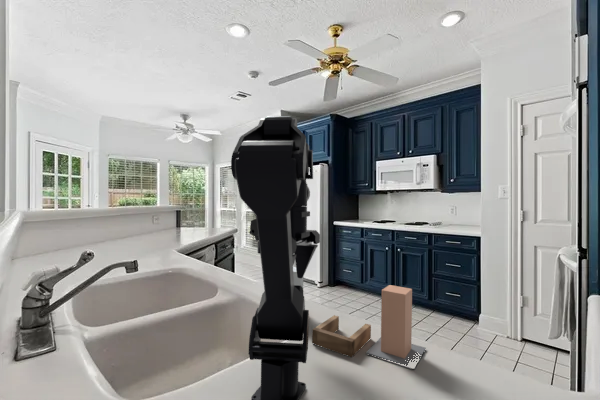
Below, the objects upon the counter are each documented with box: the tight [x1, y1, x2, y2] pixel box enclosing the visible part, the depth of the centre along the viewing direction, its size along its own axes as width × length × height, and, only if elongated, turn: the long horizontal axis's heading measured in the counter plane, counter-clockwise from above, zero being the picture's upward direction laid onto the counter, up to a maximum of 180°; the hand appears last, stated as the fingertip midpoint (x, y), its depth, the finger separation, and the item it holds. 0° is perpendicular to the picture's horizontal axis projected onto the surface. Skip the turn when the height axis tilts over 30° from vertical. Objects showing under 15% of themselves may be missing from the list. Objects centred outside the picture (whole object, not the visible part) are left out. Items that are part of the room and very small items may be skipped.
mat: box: [365, 336, 427, 366], centre depth 59 cm, size 9×9×1 cm
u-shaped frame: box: [311, 314, 372, 358], centre depth 63 cm, size 10×9×3 cm
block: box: [380, 284, 413, 359], centre depth 59 cm, size 5×5×12 cm
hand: (291, 283), depth 60 cm, fingers open, 9 cm apart
